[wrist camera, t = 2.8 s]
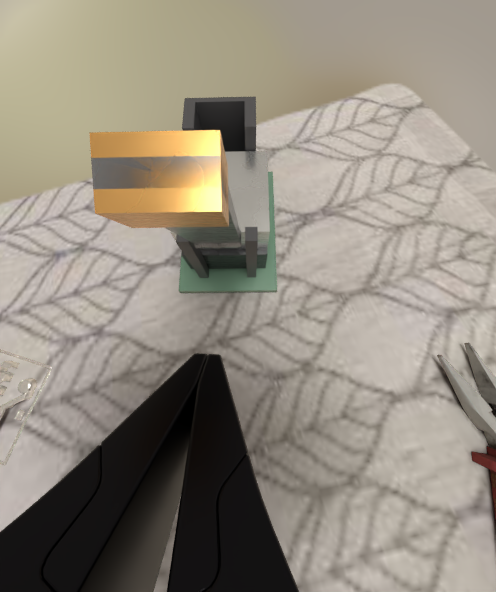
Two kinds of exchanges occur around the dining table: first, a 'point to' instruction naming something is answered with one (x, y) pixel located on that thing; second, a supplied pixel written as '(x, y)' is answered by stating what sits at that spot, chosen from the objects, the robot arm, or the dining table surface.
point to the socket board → (242, 137)
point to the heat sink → (244, 209)
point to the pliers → (478, 406)
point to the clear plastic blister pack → (23, 387)
